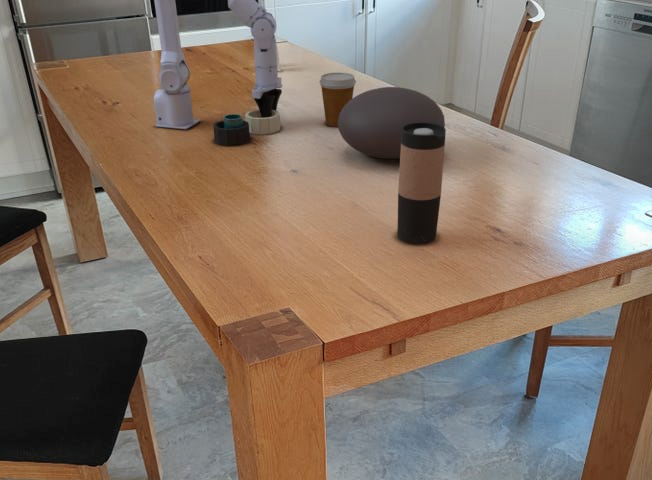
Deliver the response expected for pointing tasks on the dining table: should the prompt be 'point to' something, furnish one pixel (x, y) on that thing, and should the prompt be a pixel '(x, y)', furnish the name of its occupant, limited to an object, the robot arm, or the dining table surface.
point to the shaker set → (277, 60)
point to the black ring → (231, 134)
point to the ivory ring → (262, 122)
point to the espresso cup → (233, 121)
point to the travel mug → (420, 181)
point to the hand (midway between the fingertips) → (268, 119)
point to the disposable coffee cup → (336, 94)
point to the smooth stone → (385, 119)
